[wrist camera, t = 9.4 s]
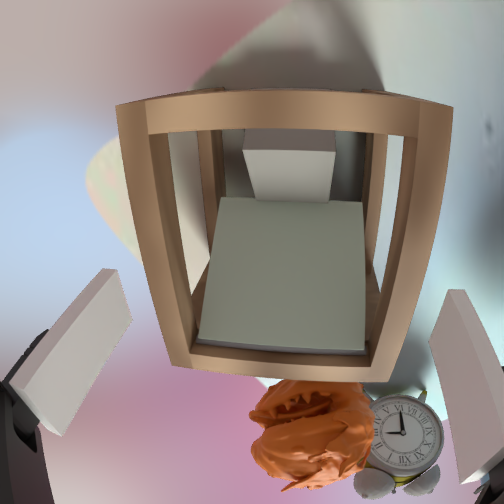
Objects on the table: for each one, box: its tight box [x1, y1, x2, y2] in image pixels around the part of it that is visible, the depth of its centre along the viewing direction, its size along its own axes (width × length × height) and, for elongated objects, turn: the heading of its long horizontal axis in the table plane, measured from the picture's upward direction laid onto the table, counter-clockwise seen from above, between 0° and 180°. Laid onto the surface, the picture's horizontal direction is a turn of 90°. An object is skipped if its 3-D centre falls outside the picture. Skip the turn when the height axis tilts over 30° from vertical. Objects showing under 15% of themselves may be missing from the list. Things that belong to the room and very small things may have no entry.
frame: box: [116, 87, 453, 382], centre depth 20 cm, size 14×16×12 cm
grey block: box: [242, 88, 336, 203], centre depth 20 cm, size 5×5×6 cm
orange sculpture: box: [249, 379, 375, 492], centre depth 25 cm, size 11×11×18 cm
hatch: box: [196, 197, 367, 355], centre depth 21 cm, size 10×10×1 cm
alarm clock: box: [354, 389, 444, 500], centre depth 31 cm, size 12×7×15 cm, turn 87°
